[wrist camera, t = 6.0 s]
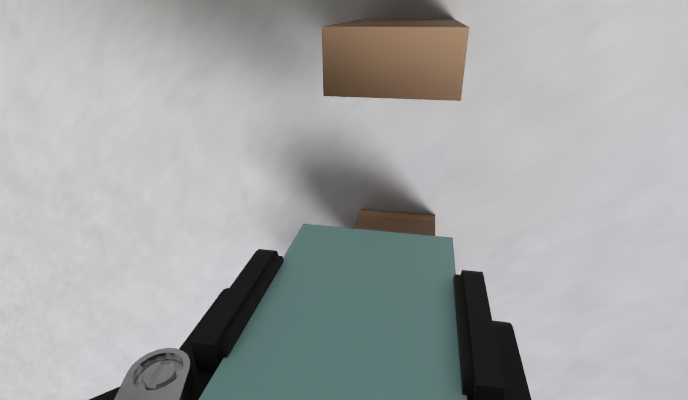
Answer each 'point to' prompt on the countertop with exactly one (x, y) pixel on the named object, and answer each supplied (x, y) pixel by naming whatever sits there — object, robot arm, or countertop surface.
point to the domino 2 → (350, 323)
